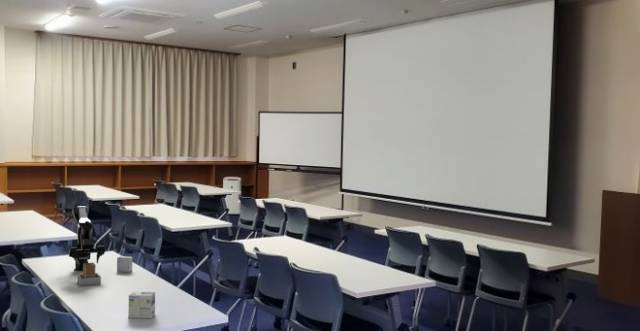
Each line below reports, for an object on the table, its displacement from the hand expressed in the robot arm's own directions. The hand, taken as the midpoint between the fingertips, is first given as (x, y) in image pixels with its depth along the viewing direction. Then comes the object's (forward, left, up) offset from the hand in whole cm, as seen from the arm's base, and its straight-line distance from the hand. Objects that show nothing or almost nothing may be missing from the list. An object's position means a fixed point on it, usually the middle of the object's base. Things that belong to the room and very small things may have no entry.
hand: (88, 264), depth 315 cm
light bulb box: (+54, -49, -10) cm, 74 cm away
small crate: (+2, -2, -9) cm, 10 cm away
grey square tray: (+2, -2, -10) cm, 10 cm away
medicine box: (+8, +28, -10) cm, 31 cm away
